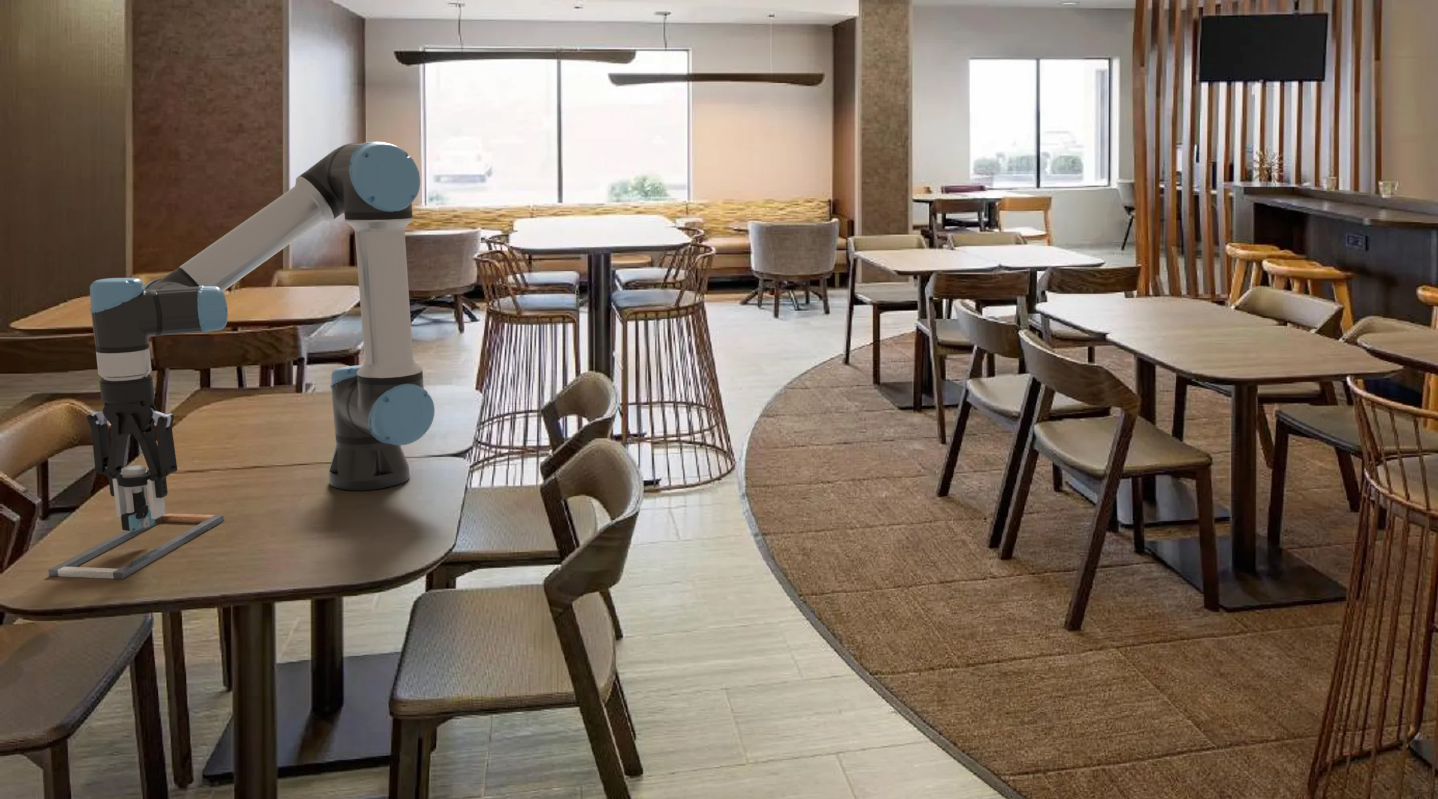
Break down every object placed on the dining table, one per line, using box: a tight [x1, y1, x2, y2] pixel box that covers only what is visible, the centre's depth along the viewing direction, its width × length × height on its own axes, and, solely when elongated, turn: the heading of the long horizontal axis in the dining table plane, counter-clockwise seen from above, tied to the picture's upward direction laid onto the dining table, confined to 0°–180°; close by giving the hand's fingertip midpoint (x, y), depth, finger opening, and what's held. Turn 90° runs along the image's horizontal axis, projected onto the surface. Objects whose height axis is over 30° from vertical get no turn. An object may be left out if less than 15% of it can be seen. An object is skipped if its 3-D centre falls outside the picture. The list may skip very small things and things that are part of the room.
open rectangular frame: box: [47, 512, 225, 580], centre depth 182 cm, size 12×28×1 cm, turn 174°
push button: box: [116, 464, 155, 532], centre depth 182 cm, size 7×5×10 cm
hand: (141, 515), depth 182 cm, fingers closed on push button, 5 cm apart
